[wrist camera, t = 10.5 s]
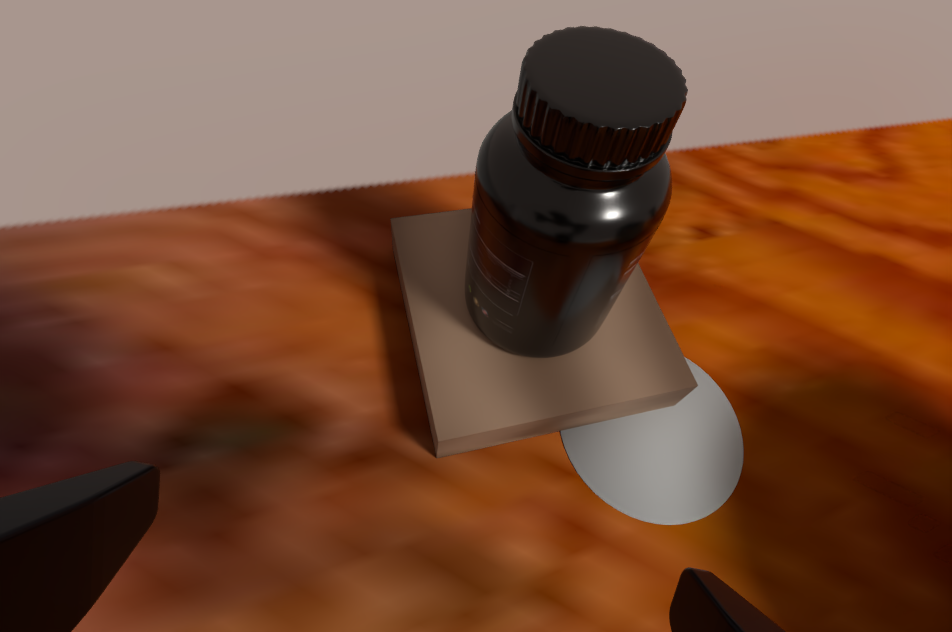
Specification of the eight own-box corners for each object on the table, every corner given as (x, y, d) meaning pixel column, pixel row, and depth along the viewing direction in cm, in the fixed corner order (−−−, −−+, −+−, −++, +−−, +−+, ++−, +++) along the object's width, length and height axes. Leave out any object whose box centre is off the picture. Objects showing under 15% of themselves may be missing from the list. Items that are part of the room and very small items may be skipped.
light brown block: (590, 221, 31) (602, 192, 29) (674, 405, 25) (698, 385, 23) (392, 248, 29) (390, 218, 26) (436, 458, 23) (438, 441, 21)
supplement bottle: (549, 226, 27) (628, -13, 17) (629, 326, 24) (781, 112, 14) (435, 273, 25) (445, 31, 15) (509, 389, 22) (585, 189, 12)
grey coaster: (762, 415, 26) (769, 411, 26) (691, 571, 22) (698, 570, 21) (611, 317, 28) (614, 312, 28) (520, 443, 24) (522, 439, 24)
